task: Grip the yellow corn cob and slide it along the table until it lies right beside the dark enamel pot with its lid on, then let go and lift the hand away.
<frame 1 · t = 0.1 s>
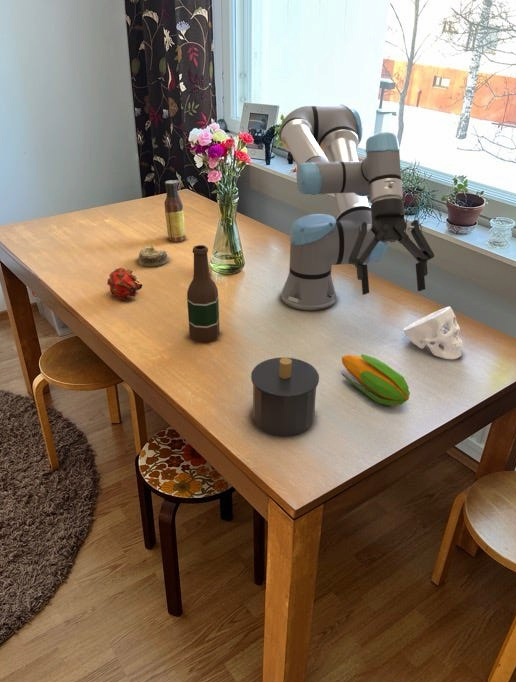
hand: (393, 291, 138), 15 cm above the table, tool tilted 35°, fingers open, 13 cm apart
sauce bottle: (176, 239, 206), on the table
grey rough lump: (153, 261, 190), on the table
pot lid: (284, 378, 118), point 10 cm above the table, touching pot
beer bottle: (204, 336, 151), on the table
corn: (369, 390, 132), on the table
dragon fruit: (125, 296, 170), on the table
pot: (283, 417, 123), on the table
skull bowl: (431, 347, 147), on the table
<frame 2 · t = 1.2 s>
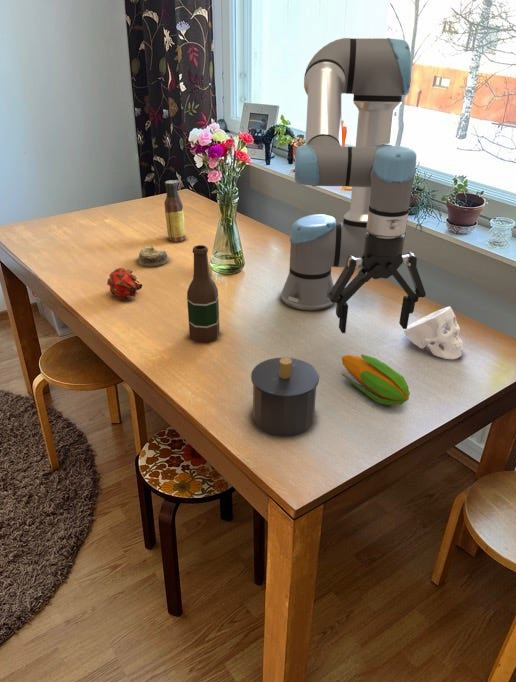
hand: (372, 328, 126), 14 cm above the table, tool pointing down, fingers open, 13 cm apart
nothing on the table moved.
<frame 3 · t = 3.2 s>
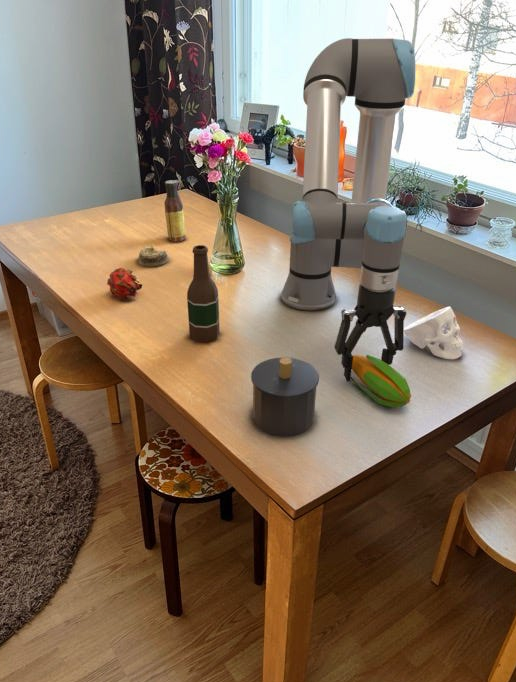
hand: (364, 376, 134), 1 cm above the table, tool pointing down, fingers closed on corn, 8 cm apart
corn: (373, 391, 132), on the table, touching gripper
everything else where it was.
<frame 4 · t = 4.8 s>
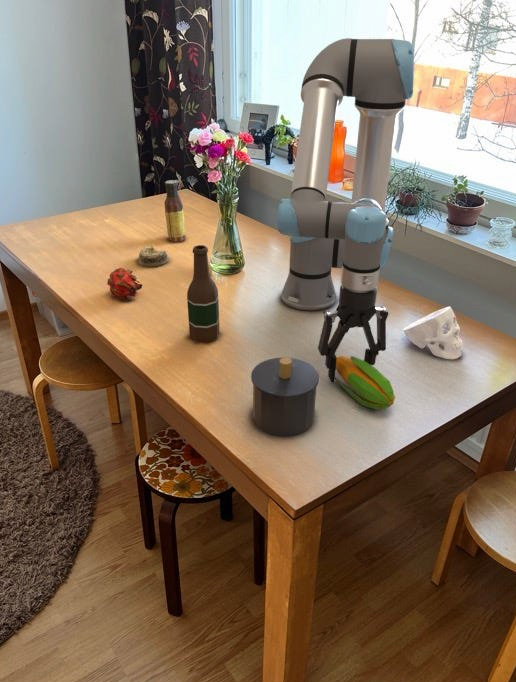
hand: (348, 377, 133), 1 cm above the table, tool pointing down, fingers closed on corn, 7 cm apart
corn: (357, 393, 131), on the table, touching gripper
everything else where it was.
when the fingers open (1 cm above the table, at t = 6.8 s): corn stays where it is, on the table.
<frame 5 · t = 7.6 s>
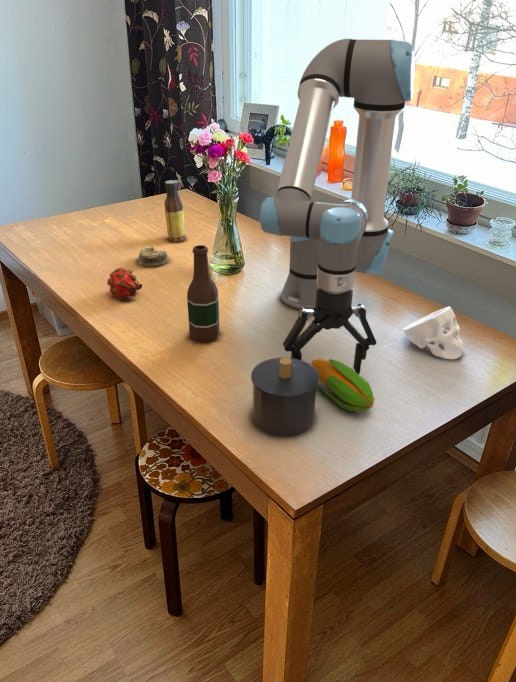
hand: (327, 373, 132), 3 cm above the table, tool pointing down, fingers open, 13 cm apart
corn: (337, 395, 130), on the table
everything else where it was.
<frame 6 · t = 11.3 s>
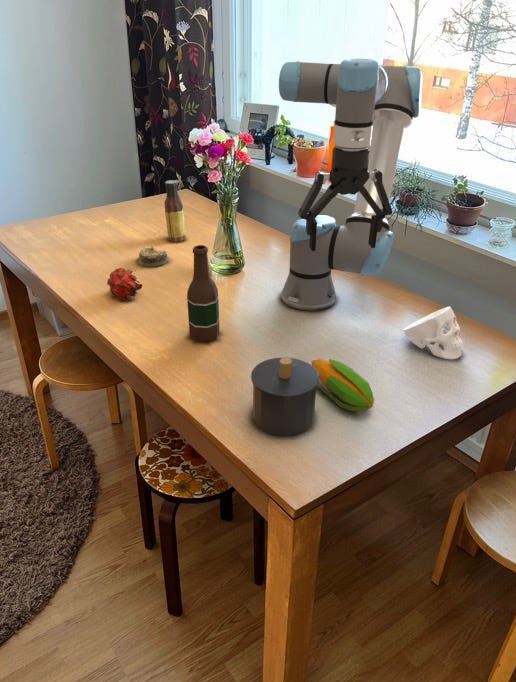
hand: (342, 247, 130), 27 cm above the table, tool pointing down, fingers open, 13 cm apart
nothing on the table moved.
at the end: corn inside the target area on the table beside the pot (2.0 cm from its centre), on the table; corn touching table; the gripper is holding nothing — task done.
